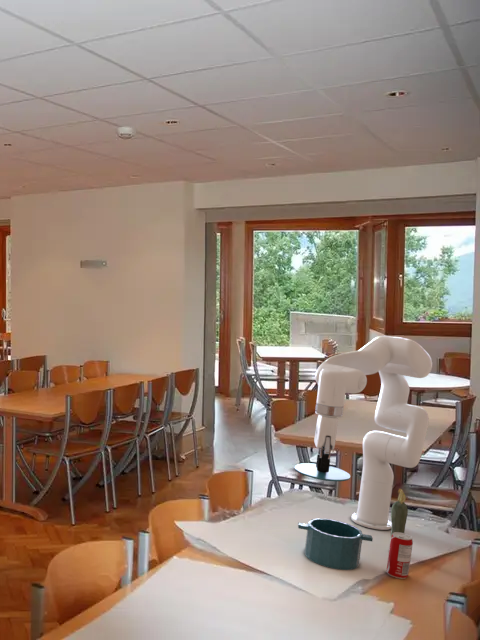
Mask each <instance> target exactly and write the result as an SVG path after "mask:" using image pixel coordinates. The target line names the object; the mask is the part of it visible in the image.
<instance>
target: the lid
mask: <svg viewBox="0 0 480 640" xmlns="http://www.w3.org/2000/svg"><path fill="white" fill-rule="evenodd" d="M319 458H320V456H319ZM293 469H294V471H295V472H296V473H298V474H299V475H303V476H305V477H308V478H311V479H315V480H320V481H326V482H347V481H349V480H350V479H351V474H350V473H349V472H347V471H345V470H343V469H341V468H339V467H335V466H331V465H329V472H322V471H318V470H317V467H316V463H311V462H304V463H303V462H302V463H297V464H295V465H294V468H293Z"/></svg>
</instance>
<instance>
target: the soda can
mask: <svg viewBox="0 0 480 640" xmlns="http://www.w3.org/2000/svg"><path fill="white" fill-rule="evenodd" d="M413 542H414V541H413V536H411V535H410V534H407V533H405V532H404V533H400V532H394V533H393V534H392V536H391V535H390V542H389V547H388V548H389V549H388V557H387V563H386V570H385V571H386V573H387V575H389V576H390V577H392V578H395V579H400V580H405V579H407V578H408V577H409V574H410V573H409V572H410V567H411V566H410V565H411V559H412V551H413Z"/></svg>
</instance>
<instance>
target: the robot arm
mask: <svg viewBox="0 0 480 640" xmlns="http://www.w3.org/2000/svg"><path fill="white" fill-rule="evenodd" d="M432 360H433V359H432V357H431V355H430V354H429V353H428V352H427V351H426V349H424V348H423V346H422V345H420V344H419V343H418V342H417V341H415V340H413V339H410V338H405V337H399V336H391V335H379V336H376V337H374V338H373V339H372V340H371V341H369V342H367V343H366V344H365V345H364V346H362V347H361V348H360V349H358V350H351V351H348V352H343V353H339V354H335V355H332V356H330V357H328V358H327V359H326V360H324V361H323V362H321V364H320V365H319V366H318V367H317V368H316V371H315V374H314V379H315V382H316V384H317V385H318V386H317V394H316V395H317V396H316V402H315V403H316V404H315V411H314V413H315V414H316V415H317V420H316V426H315V433H314V438H313V442H314V445H315V448H316V449H318V451H317V456H316V462H315V464H316V467H317V470H318V471H322V472H329V466H331V465H330V463H331V451H333V450H335V446H336V441H337V434H338V424H339V419H341V418H343V415H344V407H345V399H346V394H351V395H353V394H359V393H361V392H363V390H364V389H365V388H366V386H367V383H368V378H367V376H370V375H375V374H377V373H378V374H379V379H380V384H381V385H380V391H379V394H378V399H377V403H376V408H375V412H374V423H375V424H376V425H377V426H379V427H381V428H383V429H386V430H391V431H395V432H400V433H404V434H406V436H402V435H397V434H394V433H390V432H386V431H381V430H372V431H369V432H367V433H365V435H363V440H362V460H363V461H362V472H361V479H360V488H359V495H358V503H357V509H356V513H355V512H354V513H352V514H351V517H350V520H351V521H352V522H353V523H355V524H357V525H359V526H361V527H365V528H368V529H371V530H372V529H373V530H378V531H379V530H380V531H387V530H391V529H392V522H391V520H390V519H389V518H390V517H389V515H390V509H391V500H392V494H393V486H394V478H395V476H394V471H393V469H392V466H391V465H396V466H399V467H404V468H409V469H413V468H415V467H417V466H418V464H419V462H420V461H421V458H422V453H423V450H424V445H425V441H426V437H427V433H428V427H429V423H430V420H429V419H430V418H429V413H428V411H427V410H426V409H425V408H424V407H421V406H418V405H414V404H409V403H408V400H409V395H410V391H411V390H410V386H409V383H408V381H407V379H406V378H405V377H410V378H415V379H423V378H425V377H427V376H429V375H430V373H431V371H432V368H433V362H432ZM319 456H320V458H319ZM390 464H391V465H390Z"/></svg>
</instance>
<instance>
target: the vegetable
mask: <svg viewBox="0 0 480 640" xmlns="http://www.w3.org/2000/svg"><path fill="white" fill-rule="evenodd" d="M397 493H398V496H397V501H395V502H393V504H392V506H391V508H390V509H391V510H390V521H391V522H392V528H391V529H390V530H391V531H390V537H391V536H392V534H393V533H394V532H400V533H405V531H406V524H407V519H408V514H409V513H408V512H409V510H408V506H407V504H406V503H405V502H406V499H407V497H406V496H407V495H406V494H405V492H404V490H403V489H402V488H398V491H397Z"/></svg>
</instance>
